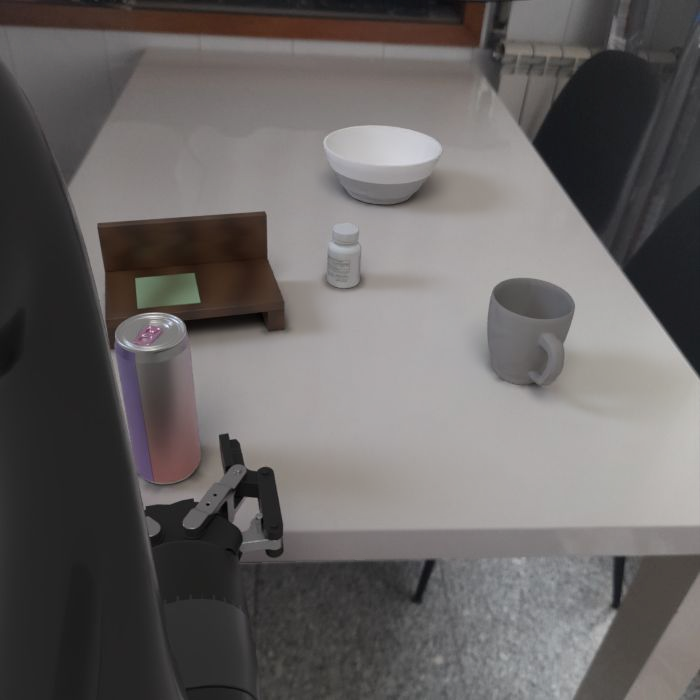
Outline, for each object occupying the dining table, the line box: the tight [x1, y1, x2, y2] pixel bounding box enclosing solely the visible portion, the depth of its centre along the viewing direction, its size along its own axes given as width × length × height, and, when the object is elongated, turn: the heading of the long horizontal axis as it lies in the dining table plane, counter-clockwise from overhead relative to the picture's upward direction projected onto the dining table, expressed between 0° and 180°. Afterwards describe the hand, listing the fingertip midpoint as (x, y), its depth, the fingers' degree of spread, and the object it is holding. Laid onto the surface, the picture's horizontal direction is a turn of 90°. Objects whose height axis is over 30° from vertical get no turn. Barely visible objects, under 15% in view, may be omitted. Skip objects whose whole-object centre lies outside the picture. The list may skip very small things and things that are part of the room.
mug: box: [486, 277, 576, 386], centre depth 77 cm, size 12×9×10 cm
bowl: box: [322, 124, 443, 205], centre depth 119 cm, size 19×20×8 cm
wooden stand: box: [96, 210, 286, 350], centre depth 85 cm, size 20×12×10 cm, turn 106°
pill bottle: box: [326, 222, 362, 289], centre depth 94 cm, size 4×4×8 cm
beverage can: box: [114, 312, 202, 486], centre depth 62 cm, size 6×6×15 cm
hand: (165, 450), depth 52 cm, fingers open, 8 cm apart
